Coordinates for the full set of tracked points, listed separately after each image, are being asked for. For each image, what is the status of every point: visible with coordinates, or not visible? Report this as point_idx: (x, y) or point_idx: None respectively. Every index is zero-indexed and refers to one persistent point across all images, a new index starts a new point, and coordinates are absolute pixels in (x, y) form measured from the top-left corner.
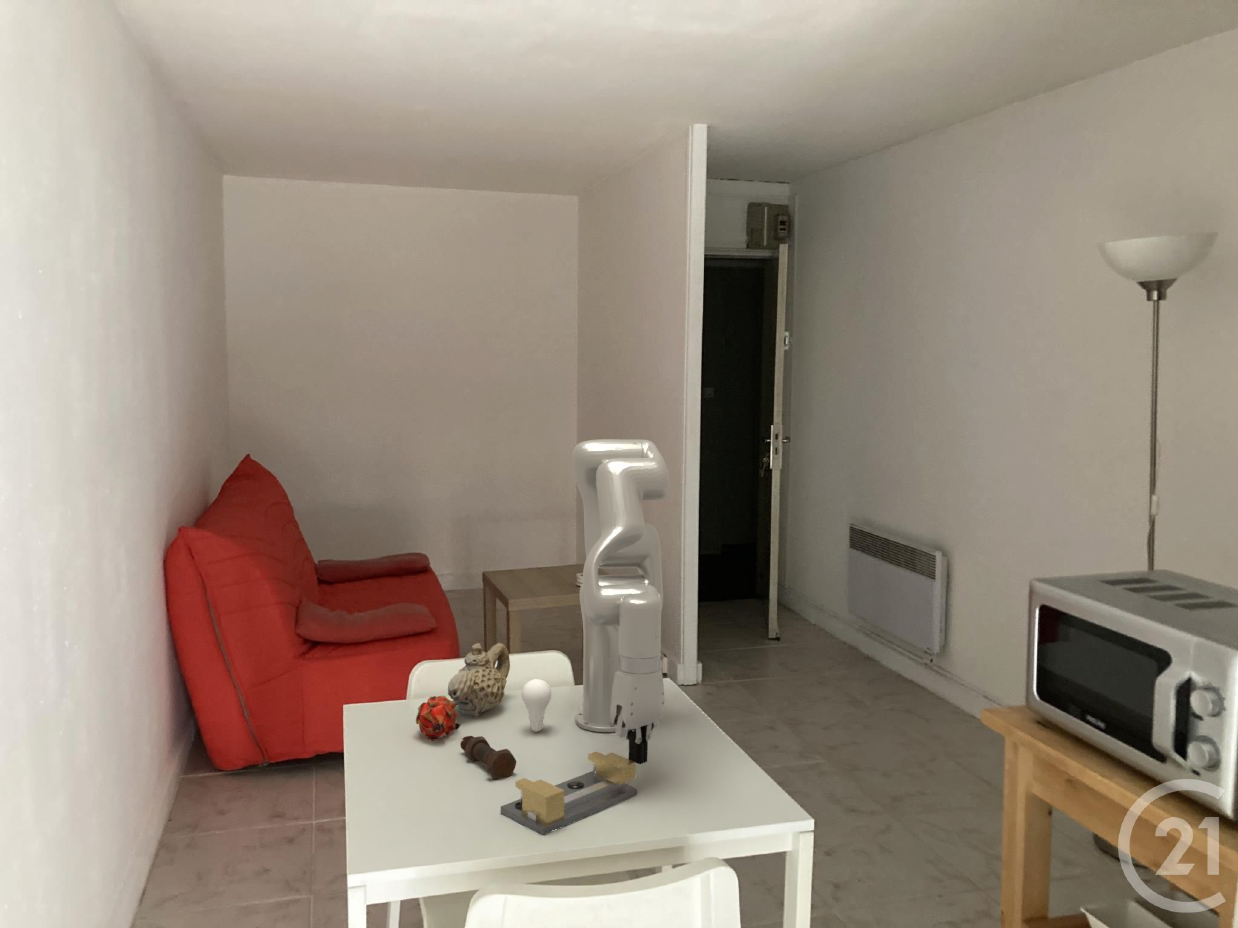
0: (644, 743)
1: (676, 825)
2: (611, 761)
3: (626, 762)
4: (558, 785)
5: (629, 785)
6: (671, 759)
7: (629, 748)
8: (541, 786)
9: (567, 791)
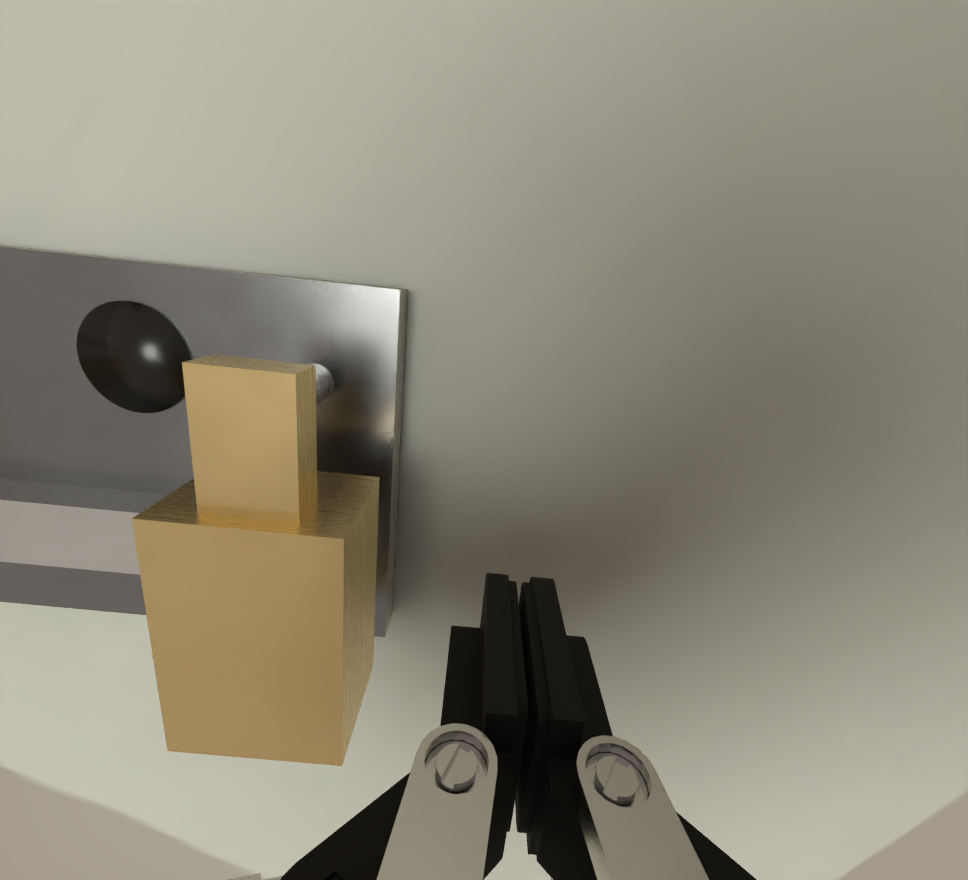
0: (519, 827)
1: (295, 839)
2: (204, 643)
3: (284, 728)
4: (36, 269)
5: (383, 589)
6: (910, 491)
7: (446, 677)
8: None
9: (40, 379)
